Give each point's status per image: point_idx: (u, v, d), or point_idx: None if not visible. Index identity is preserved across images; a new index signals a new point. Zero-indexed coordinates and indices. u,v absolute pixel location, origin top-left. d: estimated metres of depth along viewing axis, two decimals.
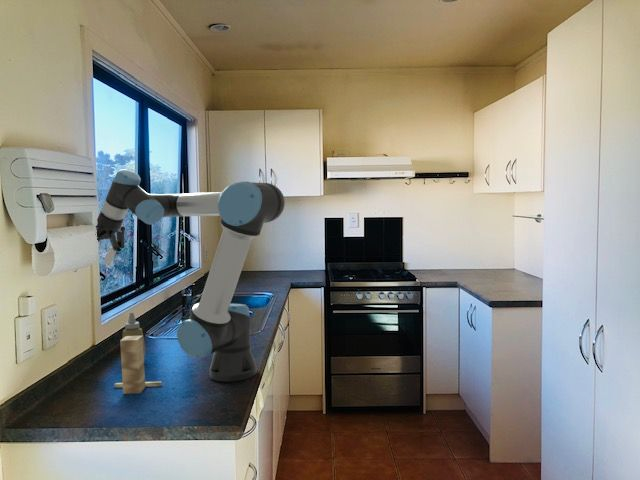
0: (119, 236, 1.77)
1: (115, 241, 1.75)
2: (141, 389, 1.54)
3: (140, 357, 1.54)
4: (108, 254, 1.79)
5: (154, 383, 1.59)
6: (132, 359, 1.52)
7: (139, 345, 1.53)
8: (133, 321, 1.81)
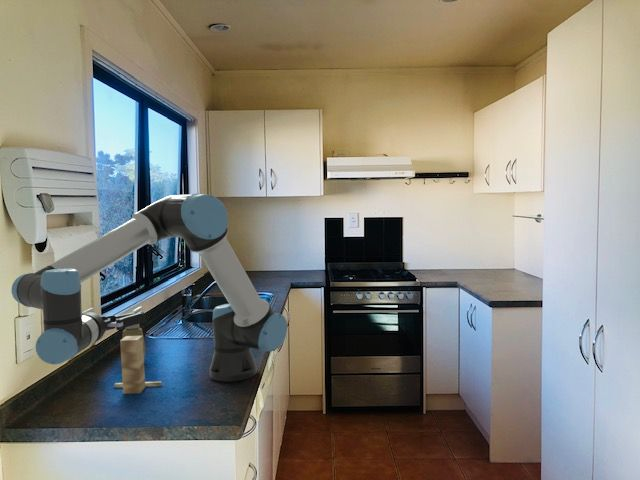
0: None
1: None
2: (141, 389, 1.54)
3: (140, 357, 1.54)
4: None
5: (154, 383, 1.59)
6: (132, 359, 1.52)
7: (139, 345, 1.53)
8: None
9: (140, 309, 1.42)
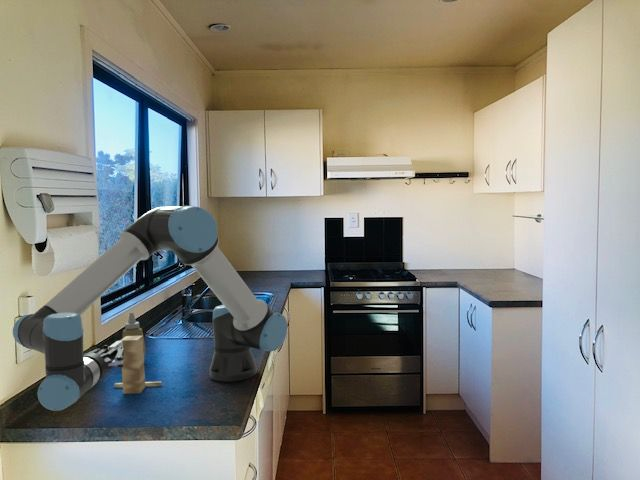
0: None
1: (98, 353, 1.33)
2: (141, 389, 1.54)
3: (140, 357, 1.54)
4: None
5: (154, 383, 1.59)
6: (132, 359, 1.52)
7: (139, 345, 1.53)
8: (133, 321, 1.81)
9: (120, 344, 1.44)
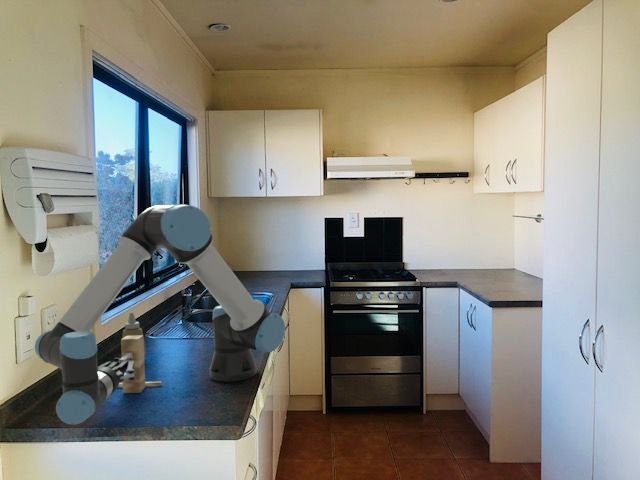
0: None
1: (110, 366, 1.40)
2: (141, 389, 1.54)
3: (140, 357, 1.54)
4: None
5: (154, 383, 1.59)
6: None
7: (139, 344, 1.54)
8: (133, 321, 1.81)
9: (130, 356, 1.51)
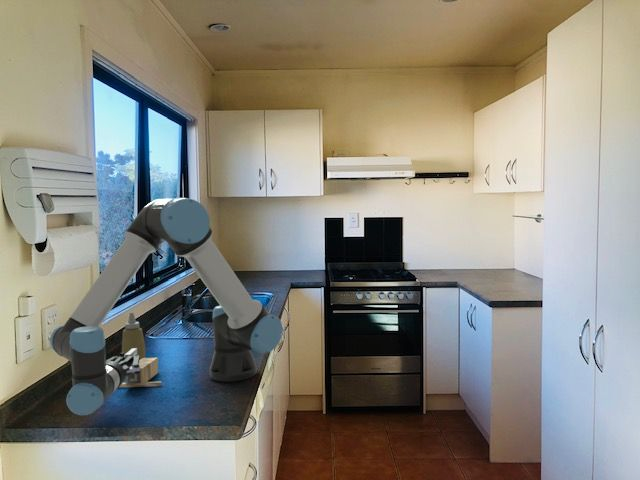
0: None
1: (116, 360, 1.45)
2: (143, 372, 1.56)
3: (152, 366, 1.66)
4: None
5: (154, 383, 1.59)
6: (146, 361, 1.66)
7: (156, 362, 1.70)
8: (133, 321, 1.81)
9: (135, 351, 1.56)
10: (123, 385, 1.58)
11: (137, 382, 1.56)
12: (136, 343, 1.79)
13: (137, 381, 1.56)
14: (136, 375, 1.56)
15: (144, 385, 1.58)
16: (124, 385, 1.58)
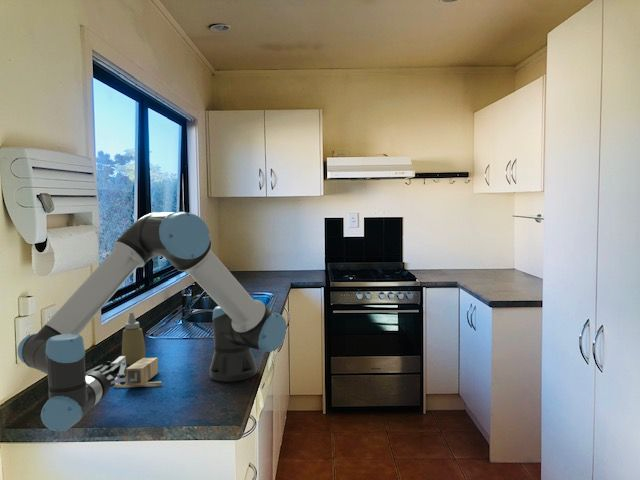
0: None
1: (101, 370, 1.36)
2: (143, 372, 1.56)
3: (152, 366, 1.66)
4: None
5: (154, 383, 1.59)
6: (146, 361, 1.66)
7: (156, 362, 1.70)
8: (133, 321, 1.81)
9: (123, 359, 1.46)
10: (123, 385, 1.58)
11: (137, 382, 1.56)
12: (136, 343, 1.79)
13: (137, 381, 1.56)
14: (136, 375, 1.56)
15: (144, 385, 1.58)
16: (124, 385, 1.58)
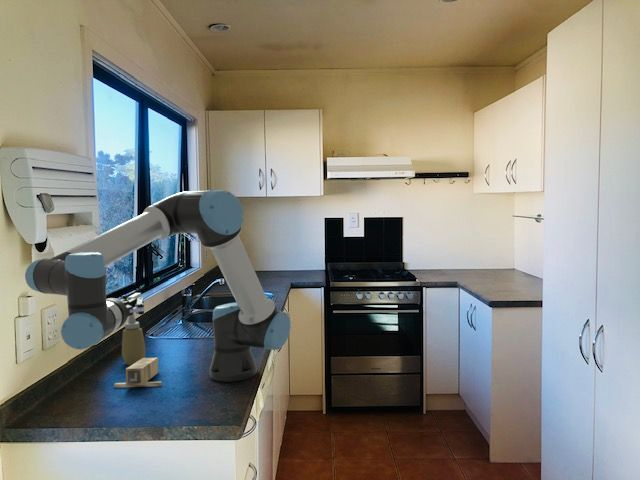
0: None
1: None
2: (143, 372, 1.56)
3: (152, 366, 1.66)
4: None
5: (154, 383, 1.59)
6: (146, 361, 1.66)
7: (156, 362, 1.70)
8: (133, 321, 1.81)
9: (139, 295, 1.41)
10: (123, 385, 1.58)
11: (137, 382, 1.56)
12: (136, 343, 1.79)
13: (137, 381, 1.56)
14: (136, 375, 1.56)
15: (144, 385, 1.58)
16: (124, 385, 1.58)
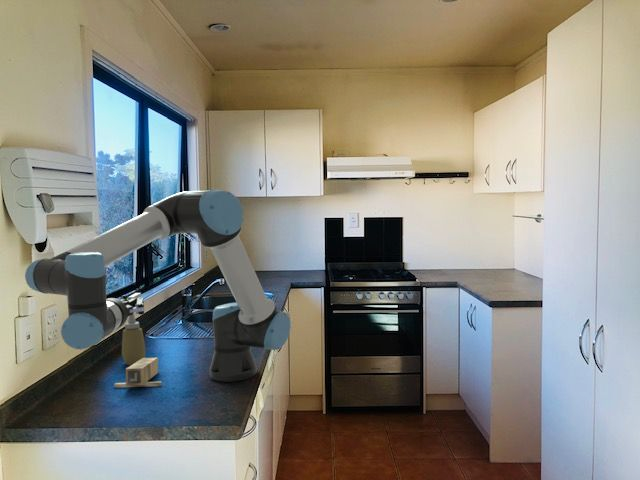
0: None
1: None
2: (143, 372, 1.56)
3: (152, 366, 1.66)
4: None
5: (154, 383, 1.59)
6: (146, 361, 1.66)
7: (156, 362, 1.70)
8: (133, 321, 1.81)
9: (139, 295, 1.41)
10: (123, 385, 1.58)
11: (137, 382, 1.56)
12: (136, 343, 1.79)
13: (137, 381, 1.56)
14: (136, 375, 1.56)
15: (144, 385, 1.58)
16: (124, 385, 1.58)
